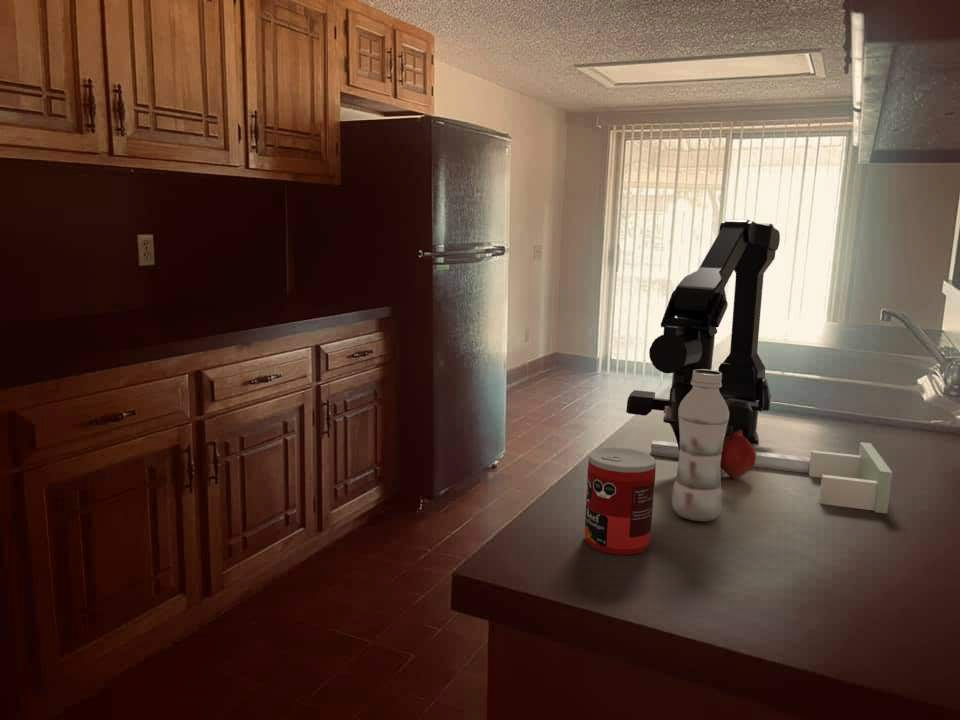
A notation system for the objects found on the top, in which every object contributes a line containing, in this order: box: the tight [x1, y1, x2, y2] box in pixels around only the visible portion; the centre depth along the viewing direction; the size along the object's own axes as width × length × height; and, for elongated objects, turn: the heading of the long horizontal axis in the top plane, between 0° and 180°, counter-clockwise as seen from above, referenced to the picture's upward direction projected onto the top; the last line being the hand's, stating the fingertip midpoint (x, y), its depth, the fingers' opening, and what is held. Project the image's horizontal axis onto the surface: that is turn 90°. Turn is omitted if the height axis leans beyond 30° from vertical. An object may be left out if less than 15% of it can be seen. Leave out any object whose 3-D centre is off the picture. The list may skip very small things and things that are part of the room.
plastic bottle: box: [671, 369, 729, 522], centre depth 96 cm, size 6×7×20 cm
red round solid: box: [721, 430, 756, 479], centre depth 114 cm, size 6×6×8 cm
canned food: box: [584, 447, 657, 556], centre depth 88 cm, size 8×8×11 cm
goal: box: [807, 441, 893, 515], centre depth 109 cm, size 15×8×6 cm, turn 162°
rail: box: [650, 439, 810, 474], centre depth 122 cm, size 2×31×2 cm, turn 72°
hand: (683, 460), depth 116 cm, fingers closed
